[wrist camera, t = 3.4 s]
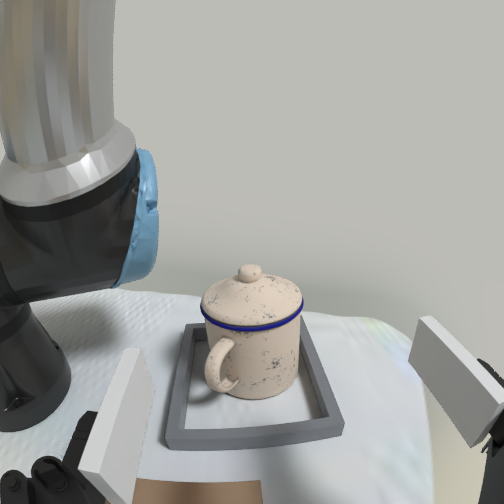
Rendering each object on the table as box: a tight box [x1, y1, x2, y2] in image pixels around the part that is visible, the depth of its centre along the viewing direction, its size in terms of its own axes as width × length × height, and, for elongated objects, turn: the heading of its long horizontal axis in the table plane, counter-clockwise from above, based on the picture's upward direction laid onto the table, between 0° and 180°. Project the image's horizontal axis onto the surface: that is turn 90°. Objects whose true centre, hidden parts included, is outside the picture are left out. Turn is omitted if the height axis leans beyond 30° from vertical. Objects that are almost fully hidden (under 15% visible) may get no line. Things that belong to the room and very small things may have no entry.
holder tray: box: [165, 315, 345, 451], centre depth 28 cm, size 14×17×2 cm
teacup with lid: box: [200, 264, 303, 399], centre depth 26 cm, size 12×9×12 cm
